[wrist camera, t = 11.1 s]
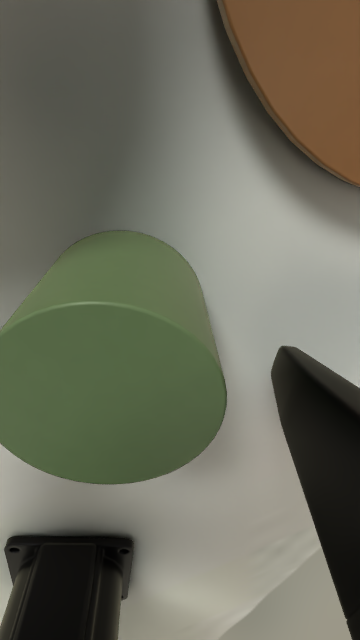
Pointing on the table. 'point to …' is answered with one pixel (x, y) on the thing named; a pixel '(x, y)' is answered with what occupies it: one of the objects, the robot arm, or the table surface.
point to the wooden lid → (304, 72)
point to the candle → (111, 364)
